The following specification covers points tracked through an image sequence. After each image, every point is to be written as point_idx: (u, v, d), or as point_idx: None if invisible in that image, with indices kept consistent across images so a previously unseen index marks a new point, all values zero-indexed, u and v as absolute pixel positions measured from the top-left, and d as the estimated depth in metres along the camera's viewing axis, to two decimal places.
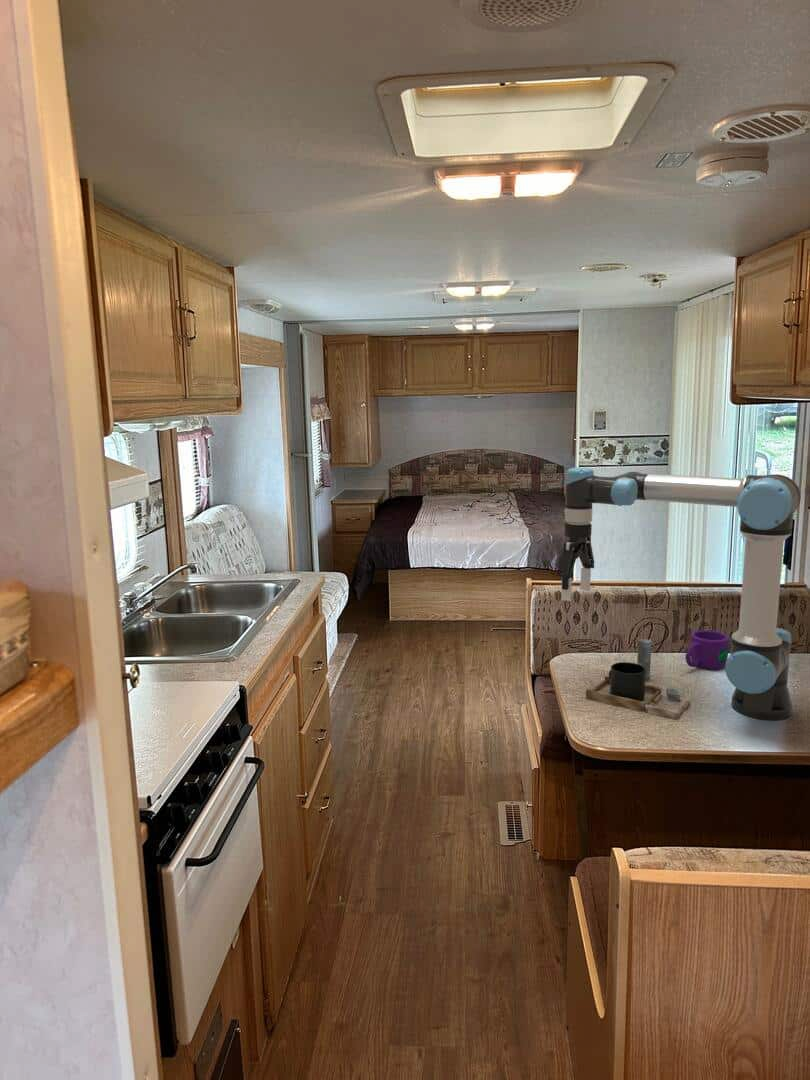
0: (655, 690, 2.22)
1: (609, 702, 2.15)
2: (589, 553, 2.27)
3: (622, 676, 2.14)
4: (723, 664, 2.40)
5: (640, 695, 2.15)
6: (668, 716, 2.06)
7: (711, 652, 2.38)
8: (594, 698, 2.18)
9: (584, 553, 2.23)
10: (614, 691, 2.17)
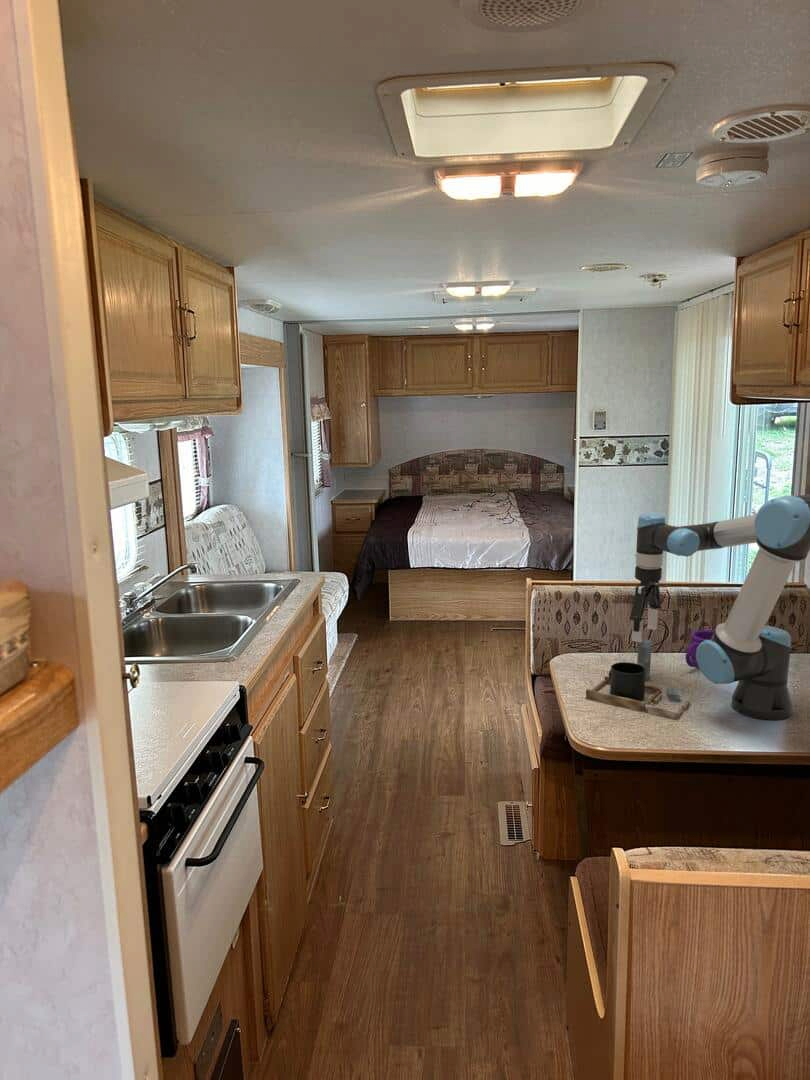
0: (655, 690, 2.22)
1: (609, 702, 2.15)
2: (657, 594, 2.35)
3: (622, 676, 2.14)
4: None
5: (640, 695, 2.15)
6: (668, 716, 2.06)
7: None
8: (594, 698, 2.18)
9: (653, 595, 2.31)
10: (614, 691, 2.17)
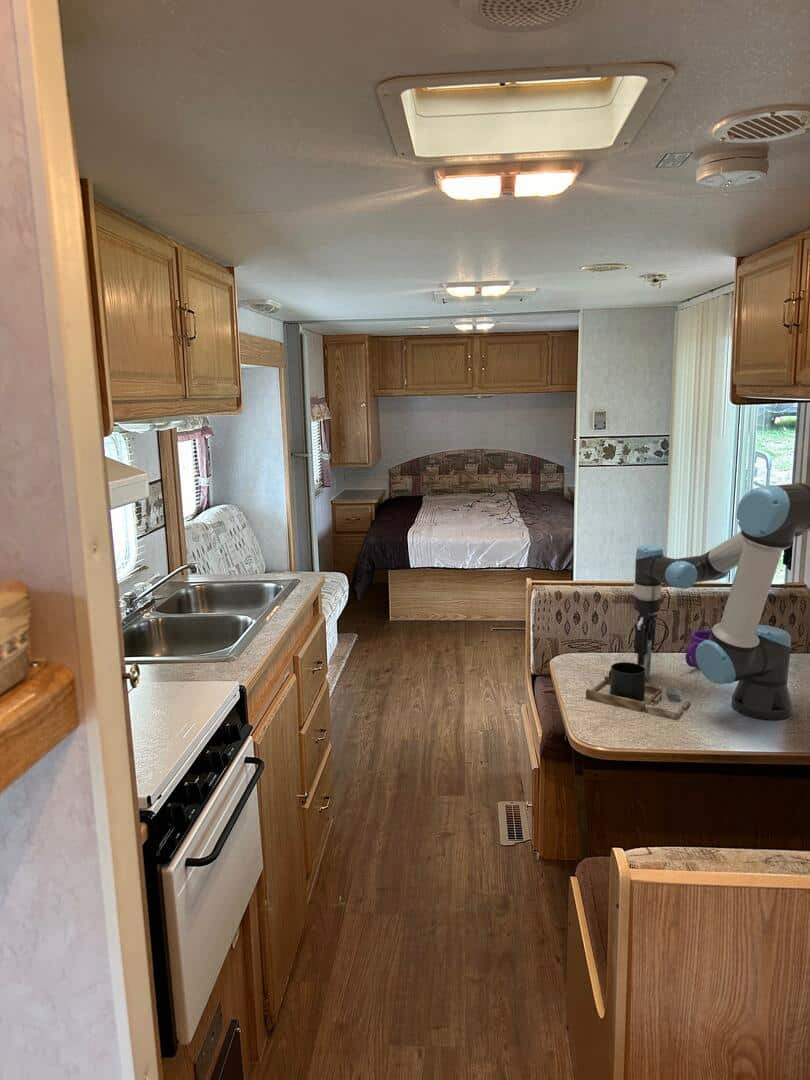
0: (655, 690, 2.22)
1: (609, 702, 2.15)
2: (652, 632, 2.34)
3: (622, 676, 2.14)
4: None
5: (640, 695, 2.15)
6: (668, 716, 2.06)
7: None
8: (594, 698, 2.18)
9: (650, 629, 2.31)
10: (614, 691, 2.17)
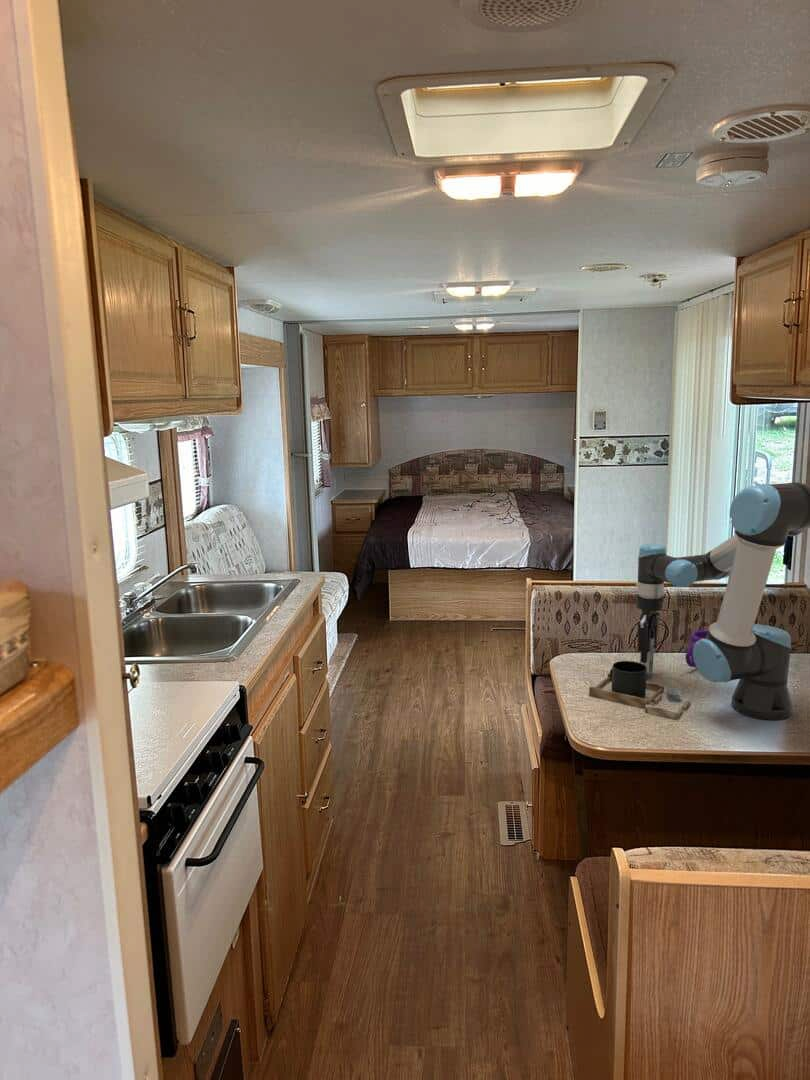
0: (658, 687, 2.24)
1: (612, 699, 2.17)
2: (654, 630, 2.36)
3: (624, 675, 2.15)
4: None
5: (641, 693, 2.16)
6: (668, 716, 2.06)
7: None
8: (597, 695, 2.20)
9: (652, 626, 2.33)
10: (615, 690, 2.18)
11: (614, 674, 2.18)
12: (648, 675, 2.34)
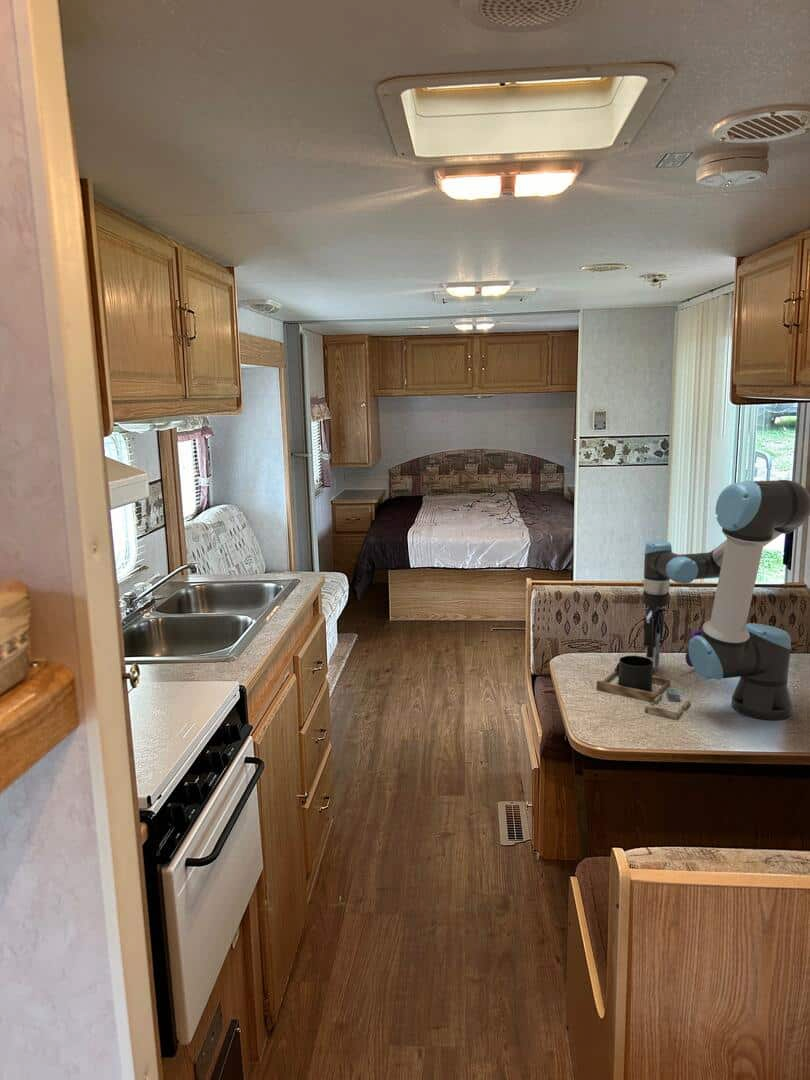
0: (664, 681, 2.28)
1: (619, 693, 2.22)
2: (660, 625, 2.40)
3: (631, 669, 2.20)
4: None
5: (648, 687, 2.21)
6: (668, 716, 2.06)
7: None
8: (605, 689, 2.24)
9: (658, 622, 2.38)
10: (623, 684, 2.22)
11: (621, 668, 2.22)
12: (654, 670, 2.38)
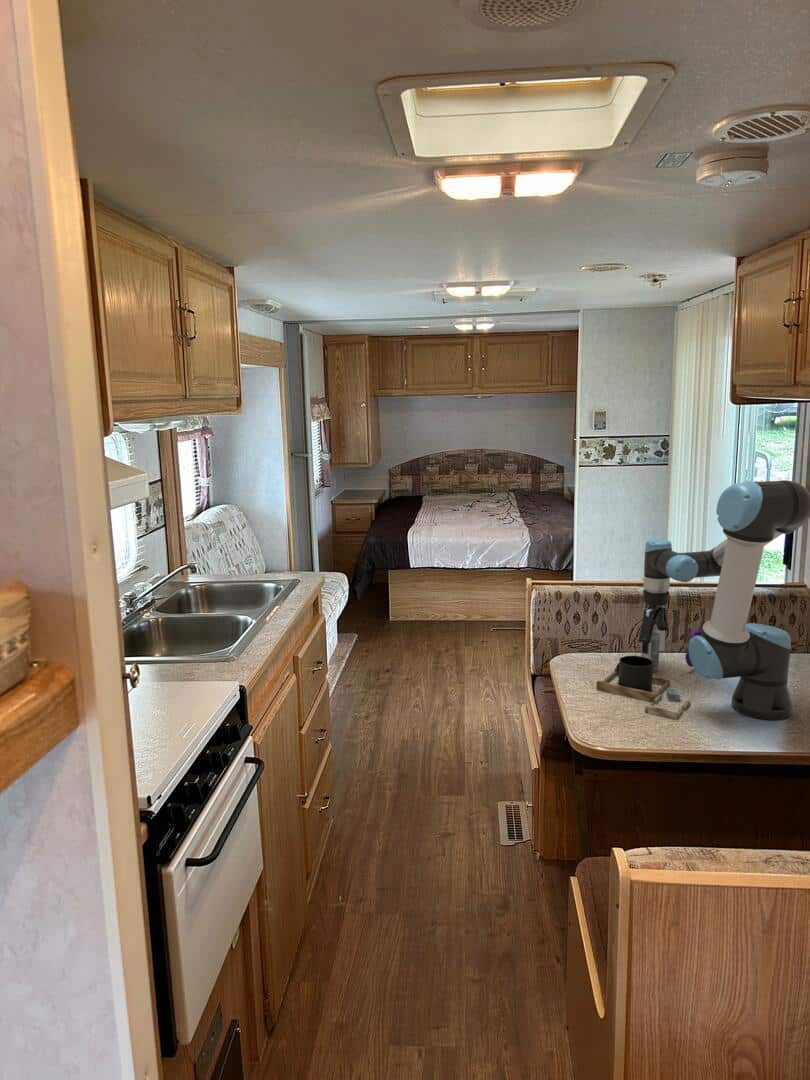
0: (664, 682, 2.28)
1: (619, 693, 2.22)
2: (664, 616, 2.42)
3: (631, 669, 2.20)
4: None
5: (648, 687, 2.21)
6: (668, 716, 2.06)
7: None
8: (605, 689, 2.24)
9: (660, 617, 2.39)
10: (623, 684, 2.22)
11: (621, 668, 2.22)
12: (654, 670, 2.38)
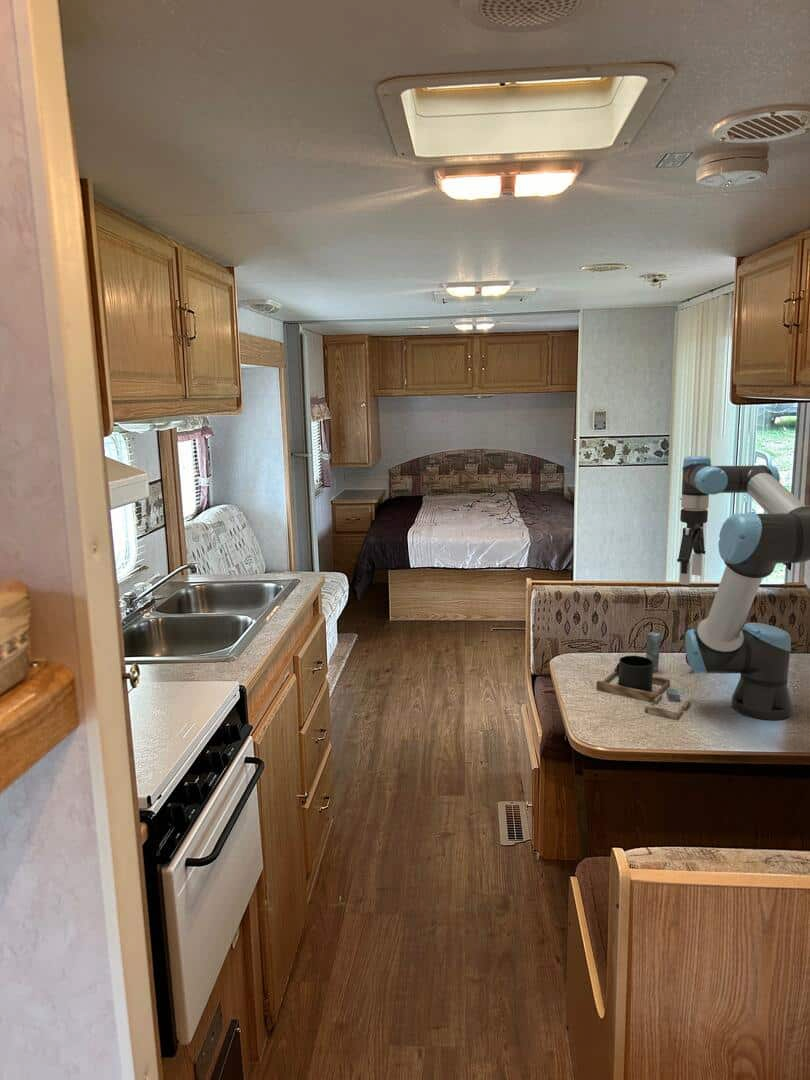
0: (664, 682, 2.28)
1: (619, 693, 2.22)
2: (701, 539, 2.34)
3: (631, 669, 2.20)
4: None
5: (648, 687, 2.21)
6: (668, 716, 2.06)
7: None
8: (605, 689, 2.24)
9: (698, 539, 2.30)
10: (623, 684, 2.22)
11: (621, 668, 2.22)
12: (654, 670, 2.38)
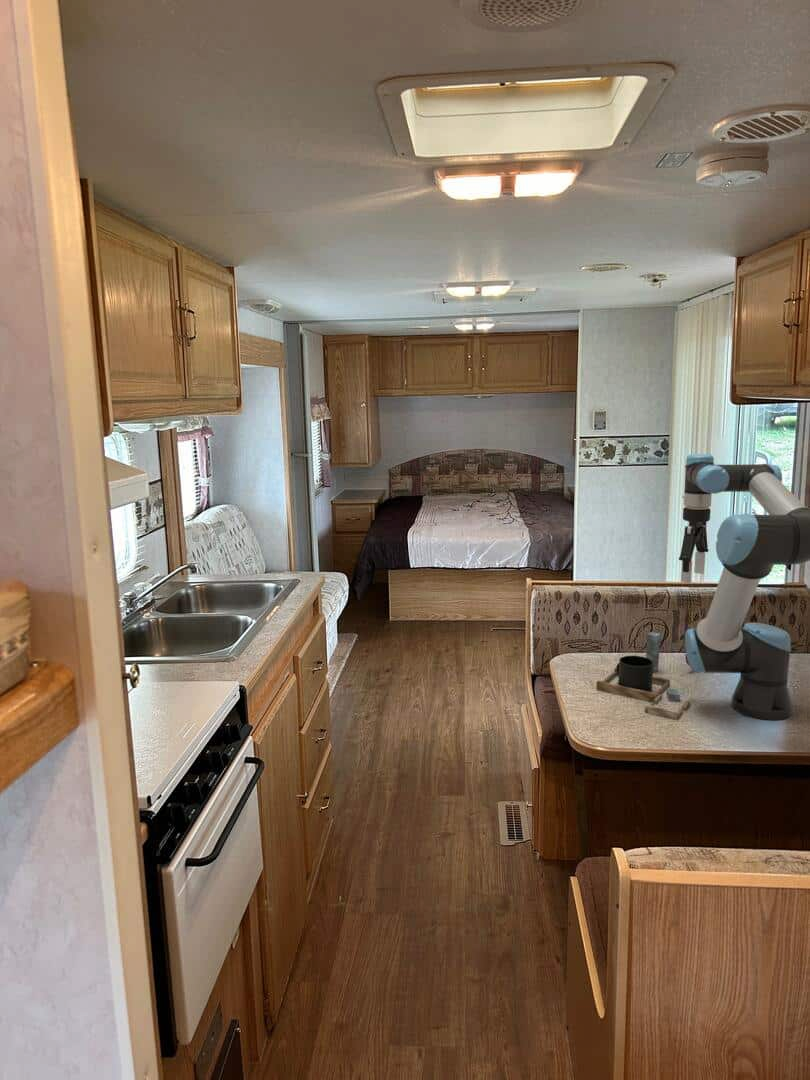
0: (664, 682, 2.28)
1: (619, 693, 2.22)
2: (704, 537, 2.33)
3: (631, 669, 2.20)
4: None
5: (648, 687, 2.21)
6: (668, 716, 2.06)
7: None
8: (605, 689, 2.24)
9: (701, 537, 2.30)
10: (623, 684, 2.22)
11: (621, 668, 2.22)
12: (654, 670, 2.38)
